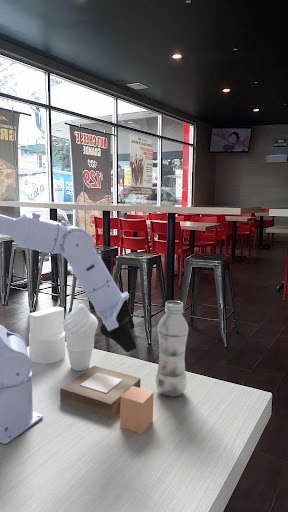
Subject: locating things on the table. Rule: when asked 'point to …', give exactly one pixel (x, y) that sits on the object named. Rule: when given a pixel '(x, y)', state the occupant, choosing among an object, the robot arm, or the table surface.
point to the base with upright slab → (47, 335)
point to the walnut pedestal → (98, 390)
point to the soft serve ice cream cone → (80, 337)
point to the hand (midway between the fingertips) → (130, 338)
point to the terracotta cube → (136, 409)
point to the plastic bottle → (172, 350)
